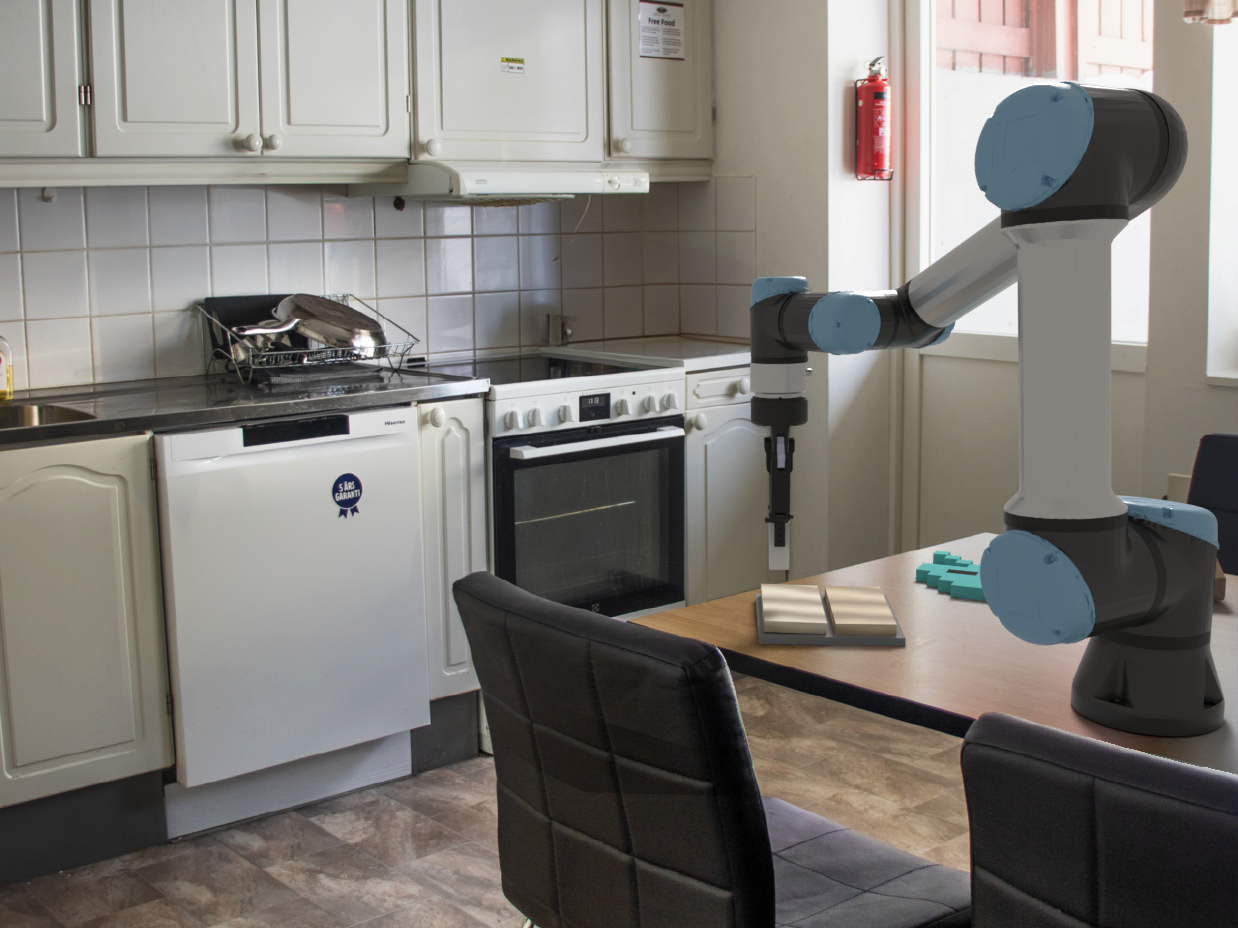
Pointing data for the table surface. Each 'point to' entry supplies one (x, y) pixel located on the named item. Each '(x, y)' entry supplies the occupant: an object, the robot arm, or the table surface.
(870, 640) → the underlay mat
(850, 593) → the floor strip
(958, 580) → the alien figure
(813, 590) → the birch plank
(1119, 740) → the table surface
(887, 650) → the table surface
